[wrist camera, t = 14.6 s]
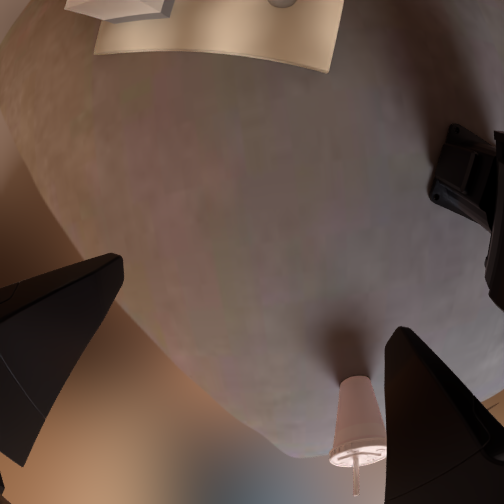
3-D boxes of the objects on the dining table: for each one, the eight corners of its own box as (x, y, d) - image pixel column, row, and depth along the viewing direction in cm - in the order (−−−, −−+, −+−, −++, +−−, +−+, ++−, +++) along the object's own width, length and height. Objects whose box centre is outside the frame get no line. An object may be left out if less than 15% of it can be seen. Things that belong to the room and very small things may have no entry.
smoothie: (332, 368, 27) (334, 491, 15) (388, 366, 26) (407, 481, 14) (324, 399, 30) (322, 503, 18) (373, 397, 29) (383, 497, 17)
